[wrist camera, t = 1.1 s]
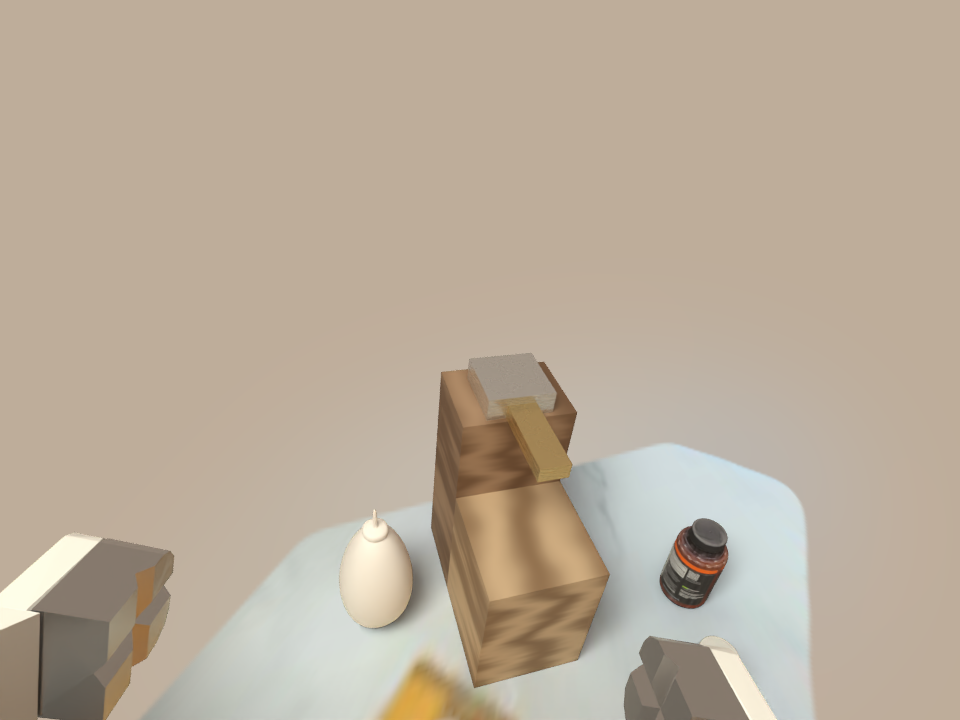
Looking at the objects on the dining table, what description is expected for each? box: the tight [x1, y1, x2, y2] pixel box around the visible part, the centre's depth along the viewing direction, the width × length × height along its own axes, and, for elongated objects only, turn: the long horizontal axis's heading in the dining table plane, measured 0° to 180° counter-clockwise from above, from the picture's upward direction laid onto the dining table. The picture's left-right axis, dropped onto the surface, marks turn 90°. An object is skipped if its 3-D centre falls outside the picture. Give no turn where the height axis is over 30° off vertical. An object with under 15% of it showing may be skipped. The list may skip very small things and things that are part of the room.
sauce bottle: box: [339, 510, 413, 628], centre depth 59 cm, size 8×8×18 cm
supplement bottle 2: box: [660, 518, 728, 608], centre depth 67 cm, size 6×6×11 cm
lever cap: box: [467, 353, 572, 482], centre depth 53 cm, size 7×16×2 cm, turn 16°
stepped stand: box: [431, 362, 610, 688], centre depth 60 cm, size 12×21×26 cm, turn 17°
